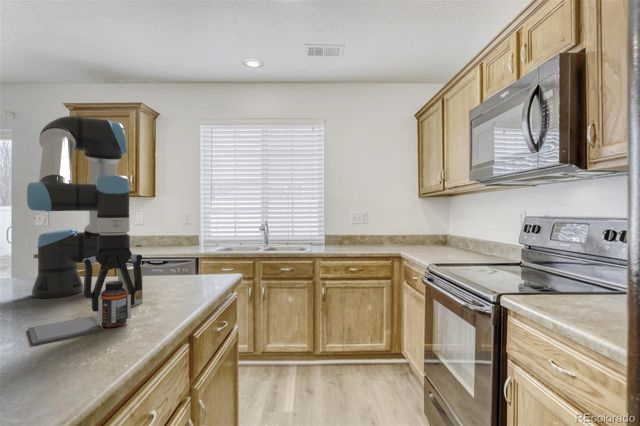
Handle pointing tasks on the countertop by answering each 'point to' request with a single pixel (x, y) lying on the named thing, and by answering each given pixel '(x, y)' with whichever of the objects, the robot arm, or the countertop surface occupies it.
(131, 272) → the skincare box
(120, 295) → the supplement bottle
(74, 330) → the coaster
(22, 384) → the countertop surface
